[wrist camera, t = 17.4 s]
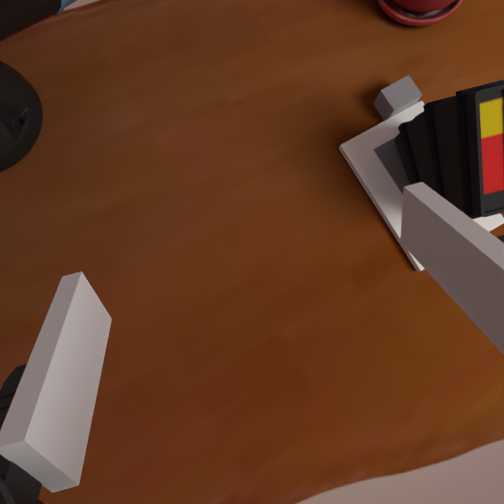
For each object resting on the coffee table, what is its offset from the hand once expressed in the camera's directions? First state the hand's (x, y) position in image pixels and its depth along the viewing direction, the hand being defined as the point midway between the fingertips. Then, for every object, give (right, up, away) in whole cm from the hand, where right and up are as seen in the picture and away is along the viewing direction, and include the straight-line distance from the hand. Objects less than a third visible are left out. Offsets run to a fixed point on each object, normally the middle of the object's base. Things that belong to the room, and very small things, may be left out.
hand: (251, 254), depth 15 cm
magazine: (+21, +8, +29) cm, 37 cm away
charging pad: (+20, +10, +30) cm, 37 cm away
